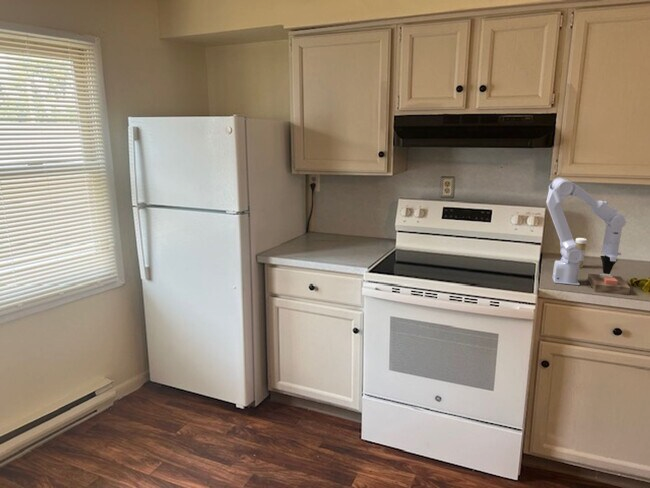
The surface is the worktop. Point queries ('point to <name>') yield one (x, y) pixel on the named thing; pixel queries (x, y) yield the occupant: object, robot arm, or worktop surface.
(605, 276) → the white key
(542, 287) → the worktop surface
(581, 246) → the sprinkles bottle
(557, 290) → the worktop surface
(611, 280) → the red key
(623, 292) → the key box
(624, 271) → the worktop surface
